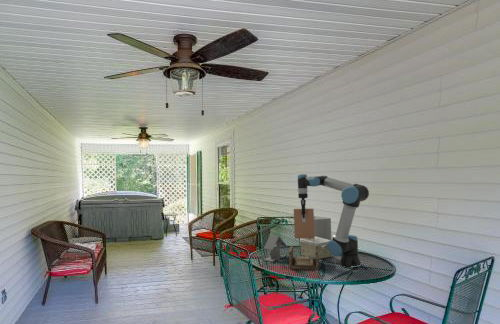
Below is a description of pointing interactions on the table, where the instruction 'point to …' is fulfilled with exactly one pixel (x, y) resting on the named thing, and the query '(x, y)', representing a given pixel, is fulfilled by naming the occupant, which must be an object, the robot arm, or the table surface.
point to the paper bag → (322, 227)
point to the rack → (292, 266)
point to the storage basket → (310, 247)
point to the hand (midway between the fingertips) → (304, 221)
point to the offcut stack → (303, 261)
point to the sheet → (304, 224)
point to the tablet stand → (270, 245)
